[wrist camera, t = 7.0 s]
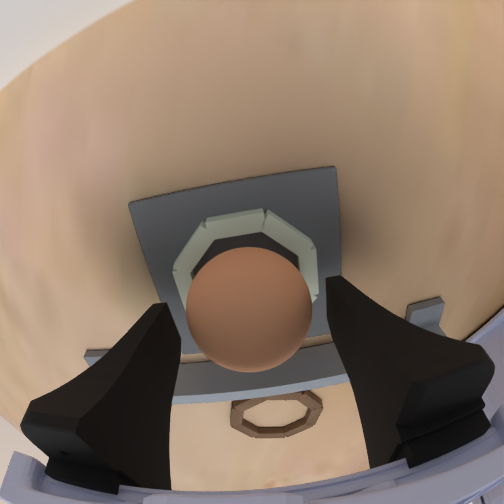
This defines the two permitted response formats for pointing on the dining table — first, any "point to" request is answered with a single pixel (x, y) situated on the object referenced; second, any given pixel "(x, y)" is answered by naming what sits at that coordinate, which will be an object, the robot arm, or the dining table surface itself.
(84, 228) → the dining table surface
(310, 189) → the pad
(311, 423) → the ring
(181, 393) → the grey long bar
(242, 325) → the ball
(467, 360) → the robot arm
